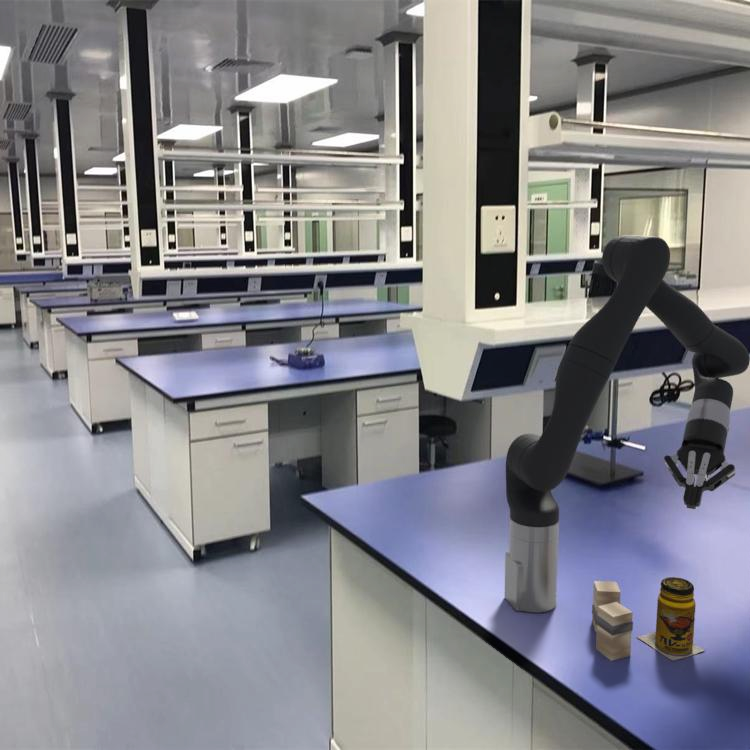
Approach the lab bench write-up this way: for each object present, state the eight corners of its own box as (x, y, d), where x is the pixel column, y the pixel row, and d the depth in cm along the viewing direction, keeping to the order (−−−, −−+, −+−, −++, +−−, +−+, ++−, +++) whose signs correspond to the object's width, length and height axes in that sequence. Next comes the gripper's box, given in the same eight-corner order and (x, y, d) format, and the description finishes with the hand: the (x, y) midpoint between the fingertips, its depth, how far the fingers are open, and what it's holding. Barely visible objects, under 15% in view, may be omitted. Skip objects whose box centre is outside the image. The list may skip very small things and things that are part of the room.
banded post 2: (611, 661, 124) (613, 617, 123) (595, 649, 128) (596, 606, 127) (631, 656, 126) (633, 612, 125) (614, 643, 130) (616, 601, 128)
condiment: (673, 661, 124) (677, 595, 122) (636, 637, 132) (640, 574, 130) (705, 651, 127) (709, 586, 125) (667, 628, 135) (671, 567, 132)
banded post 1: (595, 632, 134) (596, 591, 132) (591, 620, 138) (593, 580, 136) (619, 633, 133) (621, 592, 132) (614, 622, 137) (616, 581, 136)
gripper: (668, 413, 145) (650, 491, 137) (743, 421, 138) (729, 503, 130) (672, 433, 150) (655, 509, 142) (745, 442, 143) (731, 522, 135)
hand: (690, 506), depth 136 cm, fingers closed
